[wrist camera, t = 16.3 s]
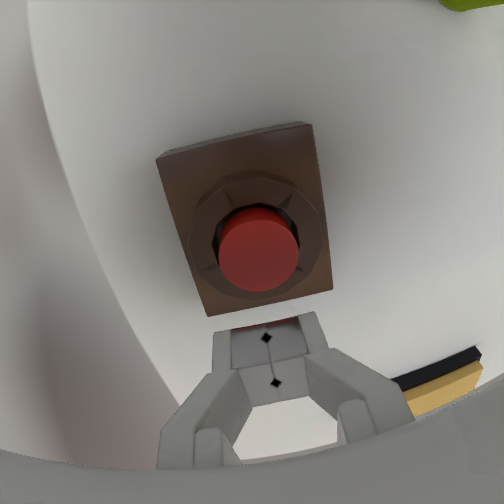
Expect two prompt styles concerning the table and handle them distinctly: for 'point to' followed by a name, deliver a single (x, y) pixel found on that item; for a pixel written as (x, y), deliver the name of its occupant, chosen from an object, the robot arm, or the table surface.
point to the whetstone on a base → (441, 381)
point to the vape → (468, 4)
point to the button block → (249, 196)
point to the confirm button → (257, 249)
